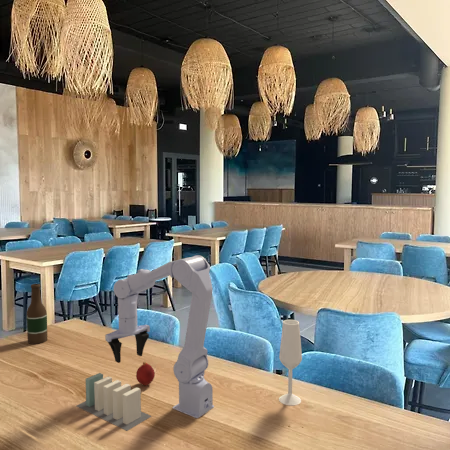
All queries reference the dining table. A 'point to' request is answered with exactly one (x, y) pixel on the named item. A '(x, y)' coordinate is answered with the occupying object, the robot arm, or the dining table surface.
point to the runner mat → (110, 417)
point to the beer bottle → (36, 318)
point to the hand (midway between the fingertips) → (128, 358)
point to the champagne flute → (290, 356)
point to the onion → (145, 374)
